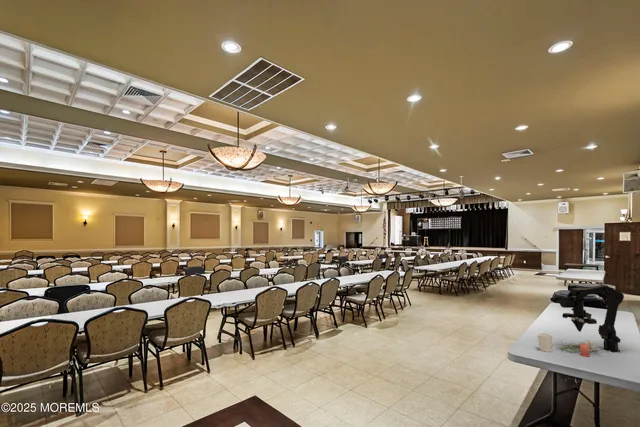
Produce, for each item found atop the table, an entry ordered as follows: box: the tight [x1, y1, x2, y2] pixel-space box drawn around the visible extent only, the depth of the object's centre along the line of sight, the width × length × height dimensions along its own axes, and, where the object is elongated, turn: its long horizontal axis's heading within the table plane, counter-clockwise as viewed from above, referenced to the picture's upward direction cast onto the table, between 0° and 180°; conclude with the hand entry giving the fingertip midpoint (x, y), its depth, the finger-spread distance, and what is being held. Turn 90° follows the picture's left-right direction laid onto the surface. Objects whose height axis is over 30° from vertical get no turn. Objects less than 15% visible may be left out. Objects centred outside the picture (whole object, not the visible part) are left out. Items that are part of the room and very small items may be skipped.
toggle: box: [586, 341, 596, 349], centre depth 210 cm, size 3×3×4 cm
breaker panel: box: [569, 343, 599, 353], centre depth 211 cm, size 11×10×1 cm
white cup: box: [537, 332, 553, 353], centre depth 210 cm, size 8×8×10 cm
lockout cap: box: [579, 343, 591, 358], centre depth 200 cm, size 5×5×6 cm
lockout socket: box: [558, 345, 580, 354], centre depth 209 cm, size 8×11×1 cm
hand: (579, 331), depth 210 cm, fingers closed
